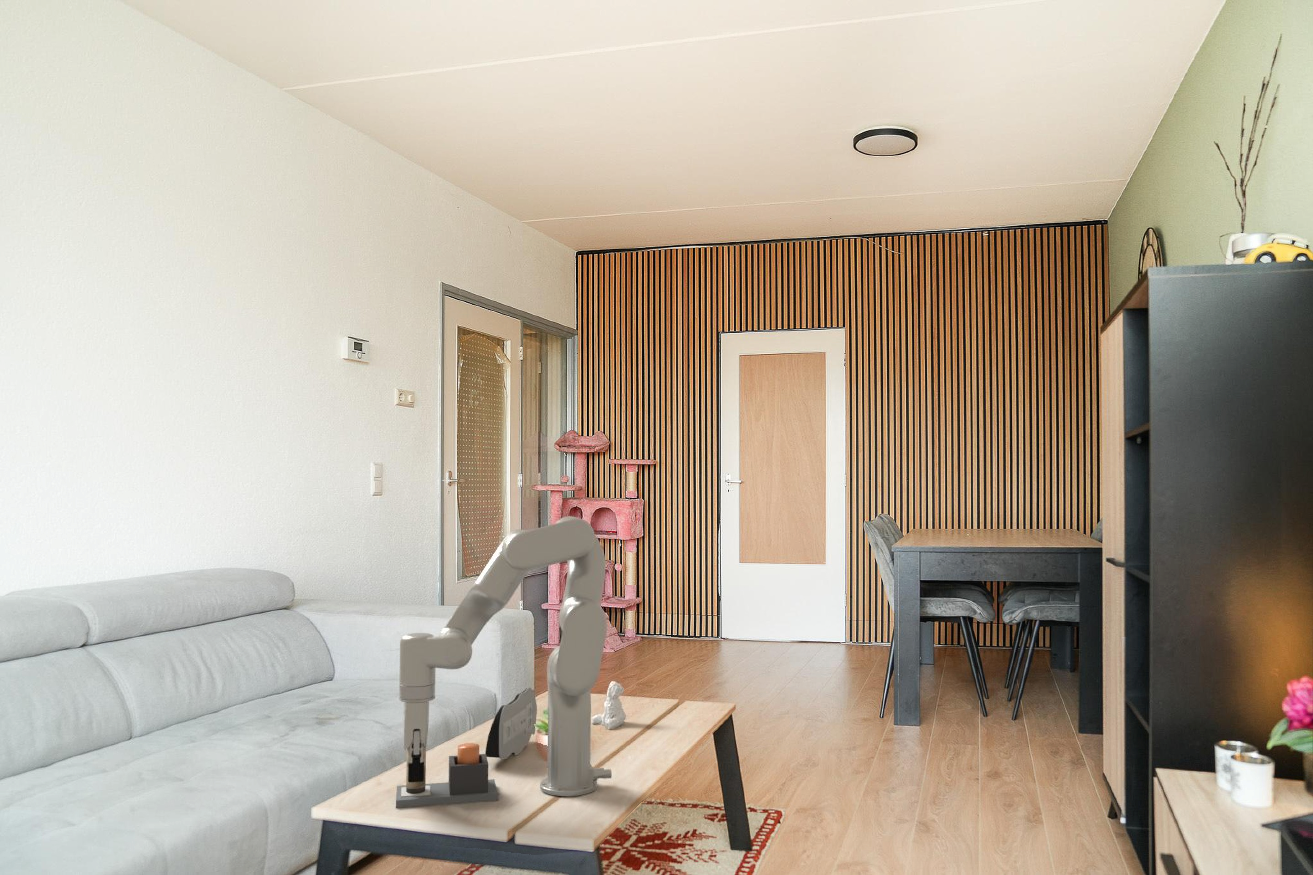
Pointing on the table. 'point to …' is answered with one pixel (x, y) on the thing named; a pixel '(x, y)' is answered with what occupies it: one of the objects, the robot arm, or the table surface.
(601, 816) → the table surface
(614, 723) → the white creature statuette
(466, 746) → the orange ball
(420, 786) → the beige wooden cylinder
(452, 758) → the board
